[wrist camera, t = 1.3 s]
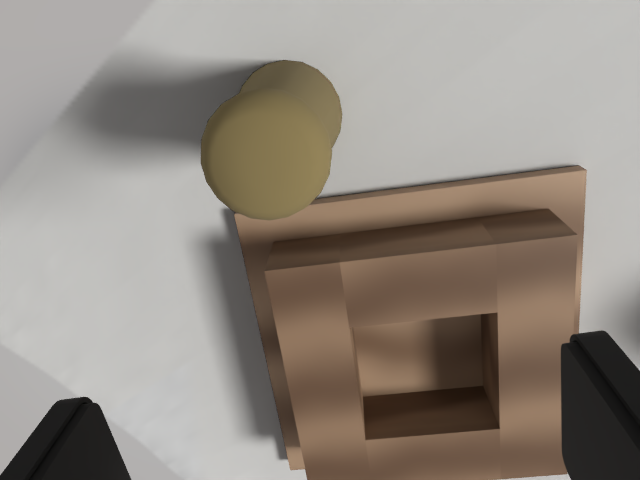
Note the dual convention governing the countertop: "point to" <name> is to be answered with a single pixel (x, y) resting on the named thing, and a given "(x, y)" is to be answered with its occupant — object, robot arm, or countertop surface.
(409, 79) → the countertop surface
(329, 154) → the cork
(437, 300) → the post socket block
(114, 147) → the countertop surface
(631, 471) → the robot arm
